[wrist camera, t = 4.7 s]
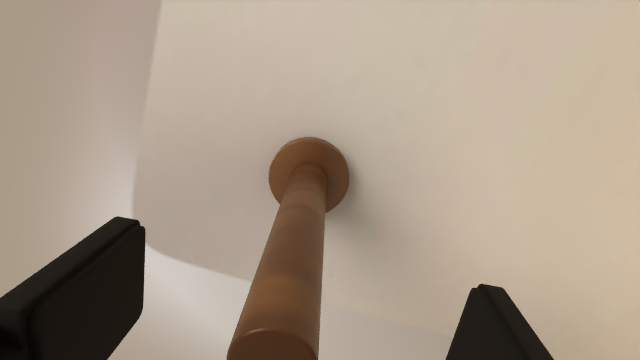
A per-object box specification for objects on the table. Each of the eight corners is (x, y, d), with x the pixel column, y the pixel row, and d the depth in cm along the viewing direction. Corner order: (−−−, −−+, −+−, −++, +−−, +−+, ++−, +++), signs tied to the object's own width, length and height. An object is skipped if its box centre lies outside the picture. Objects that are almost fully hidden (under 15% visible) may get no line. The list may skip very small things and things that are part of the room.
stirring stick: (266, 203, 22) (165, 424, 9) (276, 130, 20) (175, 262, 7) (340, 217, 22) (350, 455, 9) (355, 144, 21) (395, 299, 7)
